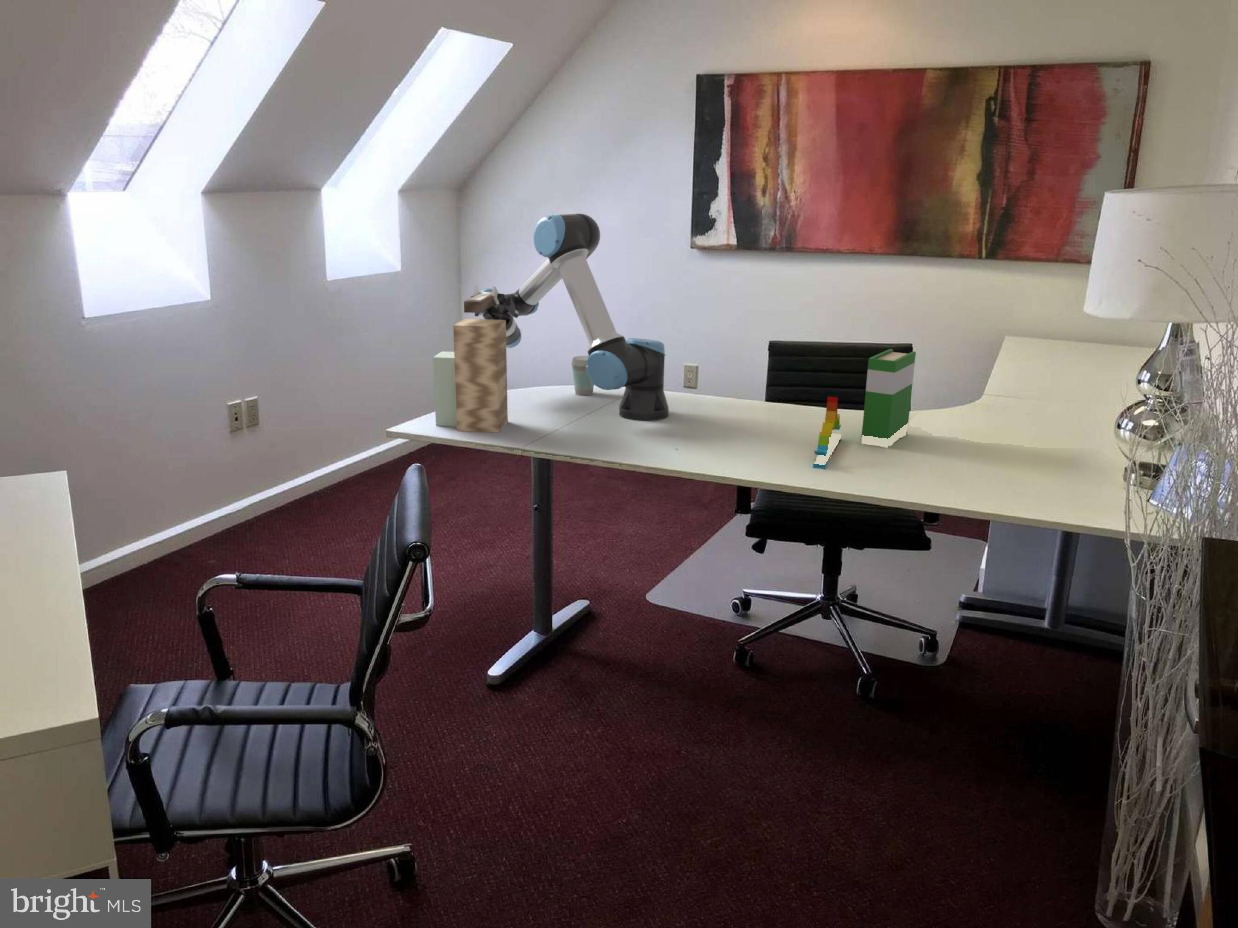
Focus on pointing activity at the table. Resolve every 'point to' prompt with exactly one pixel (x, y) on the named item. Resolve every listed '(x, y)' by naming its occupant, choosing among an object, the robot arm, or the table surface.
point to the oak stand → (480, 375)
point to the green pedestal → (445, 389)
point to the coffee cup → (581, 376)
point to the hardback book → (888, 393)
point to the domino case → (479, 303)
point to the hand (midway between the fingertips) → (484, 290)
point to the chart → (828, 429)
